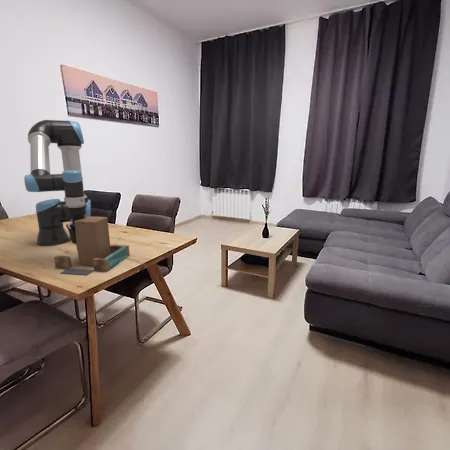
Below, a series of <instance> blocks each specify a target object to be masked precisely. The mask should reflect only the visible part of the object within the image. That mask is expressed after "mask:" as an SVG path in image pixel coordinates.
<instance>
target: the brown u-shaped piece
mask: <svg viewBox="0 0 450 450" xmlns="http://www.w3.org/2000/svg"><path fill="white" fill-rule="evenodd" d="M110 249H111V255H109V256H107V257H106V258H95V259H93V264H94V265H93V270H94V271H96V272H109V271H110V270H111V269H113V268H114V267H116V266H117V265H118V264H120V263H121V262H123V261H125V259H127V258H128V257H129V256H130V245H128V244H127V245H126V244H125V245H123V244H110ZM53 258H54V259H53V260H54V266H55V269H63V270H66V269H68V268H72V262H71V256H69V255H56V256H54V257H53ZM94 271H93V272H94Z"/></svg>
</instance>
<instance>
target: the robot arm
mask: <svg viewBox="0 0 450 450" xmlns="http://www.w3.org/2000/svg"><path fill="white" fill-rule="evenodd" d="M27 142H28V143H29V145H30V147H29V148H30V151H29V152H30V154H29V155H30V156H29V157H30V174H26V175H24V176H23V177H24V178H23V179H24V186H25V190H26V191H27V192H29V193H42V192H43V193H45V192H59V191H60V192H62V191H64V197H63V200H64V201H62V200H61V199H60V198H51V199H46V200H42V201H39V202H37V203H36V204H35V213H36V218H37V224H38V233H37V237H36V242H37V243H36V244H37V245H38V246H42V247H43V246H57V245H60V244H65V243H67V242H68V241H69V236H70V240H71V243H72V244H73V245H76V246H77V241H76V233H75V225H74V221H76V220H79V219H82V218H85V217H87V216H91V214H92V213H91V209H92V208H91V207H92V204H91V203H92V202H91V199H88V196H87V195H86V194H85V191H84V182H83V181H84V180H83V174H82V173H83V172H82V166H81V165H82V164H81V158H80V157H81V156H80V150H81V148H82V146H83V144H85V139H84V134H83V131H82V128H81V124H80V123H79V122H78V121H74V120H59V119H57V120H54V119H44V120H41V121H40V120H39V121H38V122H36V123H35V124H34V125H32V126H31V128H30V129H29V131H28V134H27ZM51 144H56V145H57V146H56V147H57V148H58V149H59V150H60V152H61V159H62V160H61V161H62V166H63V167H62V169H63V171H62V173H53V174H51V167H50V166H51V164H50V148H49V147H50V145H51ZM64 223H68V224H65V227H66V228H67V230H68V233H69V234H68V233H67V231H66V229H65V228H64ZM76 250H77V252H78V249H77V248H76Z"/></svg>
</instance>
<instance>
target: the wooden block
mask: <svg viewBox="0 0 450 450" xmlns="http://www.w3.org/2000/svg"><path fill="white" fill-rule="evenodd" d="M108 219H109V218H108V217H107V216H92V215H90V216H87V217H85V218H82V219H79V220H76V221H74V225H75V233H76V241H77V245H76V250H77V249H78V251H77V255H78V257H77V258H78V265H85V266H94V264H93V259H95V258H106V257H107V256H109V255H111V249H110V245H111V241H110V231H109V221H108Z"/></svg>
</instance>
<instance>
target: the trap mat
mask: <svg viewBox="0 0 450 450" xmlns="http://www.w3.org/2000/svg"><path fill="white" fill-rule="evenodd" d="M93 272H94V269H84V268H82V269H81V268H73V267H71V268H68V269H63V271H61V272H60V273H59V274H60V275H61V274H63V275H74V276H88V275H90V274H92V273H93Z"/></svg>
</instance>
